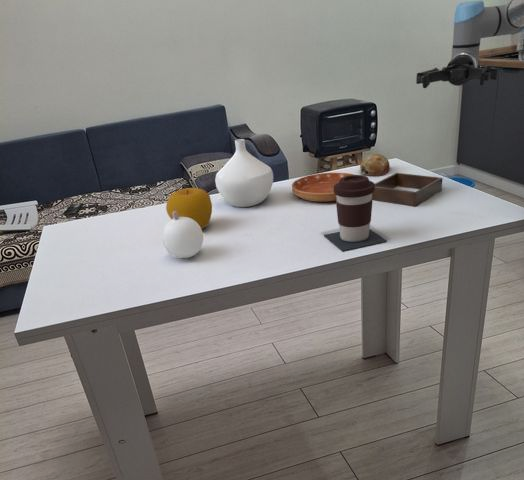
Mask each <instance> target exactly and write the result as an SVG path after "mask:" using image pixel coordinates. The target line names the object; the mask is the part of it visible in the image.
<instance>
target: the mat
mask: <svg viewBox="0 0 524 480" xmlns="http://www.w3.org/2000/svg"><path fill="white" fill-rule="evenodd" d="M323 236H324V238H325V239H327V240H328V241H329V242H331V243H332V244H333V246H335V247H336V248H338V249H339V250H340V251H341V252H343V253H344V252H348V251H353V250H357V249H361V248H366V247H370V246H375V245H379V244H385V243H387V242H388V240H387V239H386V238H384V237H382V236H381V235H380V234H378V233H377V232H375V231H374V230H372V229H371V228H369V236H368V238H367V239H365V240H363V241H360V242H347V241H344V240H342V239H341V237H340V230H339V231H335V232H331V233H326V234H323Z"/></svg>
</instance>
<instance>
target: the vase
mask: <svg viewBox="0 0 524 480" xmlns="http://www.w3.org/2000/svg"><path fill="white" fill-rule="evenodd" d="M234 144H235V152H234V154H233V156H232V157H231V158H230V159H229V160H228V161H227V162H226V163H225V164H224V165H223V166H222V167H221V168H220V169H219V170H218V171H217V172H216V174H215V179H214V182H215V188H216V190H217V191H218V193H219V195H220V196H221V197H222V199H224V201H226V202H227V203H228V204H230V205H231V206H233V207H237V208H247V207H249V208H250V207H253V206H257V205H259V204H261V203H263V202H264V200H265V199H266V198H267V197H268V195H269V194H270V192H271V190H272V187H273V184H274V171H273V170H272V168H271V166H269V165H268V164H266V163H264V162H263V161H261V160H259V159H258V158H257V157H255V156H253V154H251V153H249V152H248V150H247V147H246V141H245V139H244V138H238V139H235V140H234Z"/></svg>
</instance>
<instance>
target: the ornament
mask: <svg viewBox="0 0 524 480" xmlns="http://www.w3.org/2000/svg"><path fill="white" fill-rule="evenodd" d="M161 242H162V245H163V248H164V249H165V250H166V252H167V253H168V254H170V256H172V257H175V258H177V259H188V258H191V257H194V256H195V255H196V254H198V253H199V251H200V250H202V247H203V243H204V233H203V230H202V229H201V228H200V226H199V225H198V223H197V222H196V221H194V220H193V219H191V218H188V217H178V214H177V211H173V219H170V220H168V221H167V222H166V223H165V224H164V226H163V228H162V231H161Z"/></svg>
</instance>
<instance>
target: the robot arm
mask: <svg viewBox="0 0 524 480" xmlns="http://www.w3.org/2000/svg"><path fill="white" fill-rule="evenodd" d="M523 32H524V0H511V1H510V2H508V3H506V4H501V5H494V6H493V5H492V6H485V2H484V0H471V1H463V2H458V4H457V5H456V7H455V11H454V20H453V34H452V35H453V36H452V48H451V56H450V57H451V58H450V60H449V62H448V63H447V66H443V67H442V68H441V69H440V68H438V67H433V68H432V69H429V70H428V69H427V70H424V71H421V72H417V73H416V77H415V78H416V80H415V83H416V84H417V85H420V84H421V85H422V88H423V89H427V88H428V87H429V86H430V84H431V83H436V82H440V81H441V82H445V83H446V82H448V83H450V84H451V85H453V86H454V87H455V86H457V87H460V86H463V85H466V84H467V83H469V81H473V80H479V86H484V84H485V81H486V82H488V81H490V80H493V81H496V80H498V78H499V68H498V67H493V66H492V65H487V64H482V65H480V64H479V63H480V47H481V39H484V38H492V37H493V38H494V37H501V36H509V35H516V34H520V33H523ZM479 65H480V66H479Z"/></svg>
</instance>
